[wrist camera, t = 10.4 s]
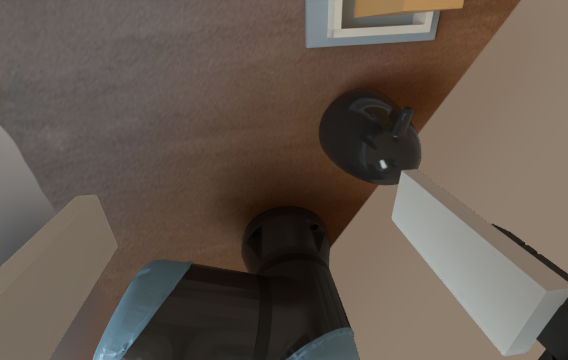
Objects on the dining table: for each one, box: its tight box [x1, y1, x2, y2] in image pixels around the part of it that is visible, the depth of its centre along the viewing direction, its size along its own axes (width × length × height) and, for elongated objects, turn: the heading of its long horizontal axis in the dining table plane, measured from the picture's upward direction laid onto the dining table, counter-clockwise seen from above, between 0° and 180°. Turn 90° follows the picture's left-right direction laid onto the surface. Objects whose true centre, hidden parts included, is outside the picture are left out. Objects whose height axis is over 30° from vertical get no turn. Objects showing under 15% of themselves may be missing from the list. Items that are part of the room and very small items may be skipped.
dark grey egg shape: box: [319, 88, 421, 185], centre depth 30 cm, size 10×10×15 cm
